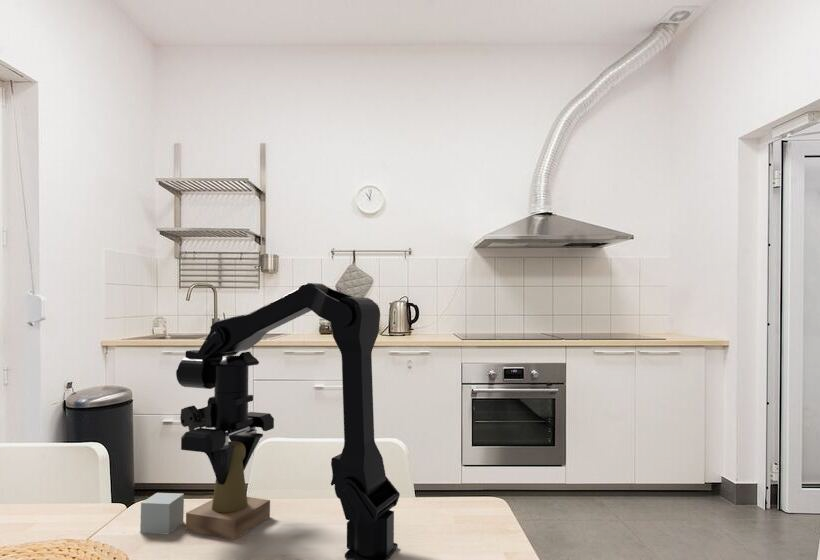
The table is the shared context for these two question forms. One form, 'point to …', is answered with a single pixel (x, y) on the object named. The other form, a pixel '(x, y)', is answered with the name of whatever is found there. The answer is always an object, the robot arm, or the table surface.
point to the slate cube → (162, 513)
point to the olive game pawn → (232, 484)
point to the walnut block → (227, 519)
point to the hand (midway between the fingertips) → (230, 479)
